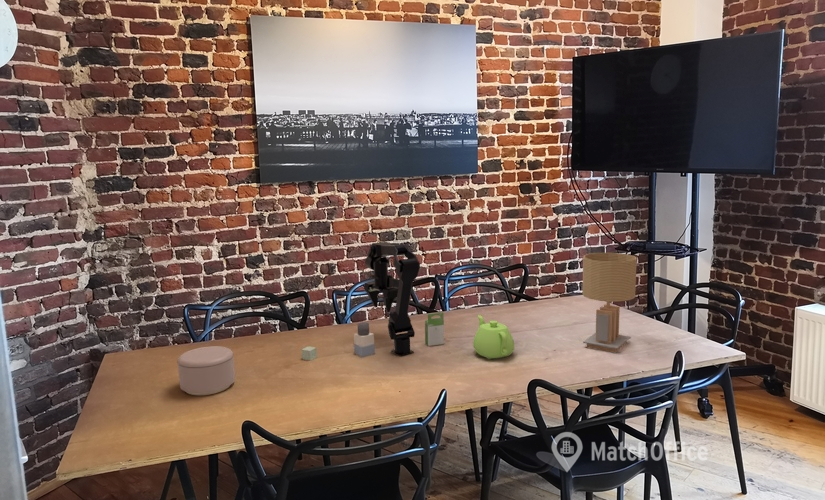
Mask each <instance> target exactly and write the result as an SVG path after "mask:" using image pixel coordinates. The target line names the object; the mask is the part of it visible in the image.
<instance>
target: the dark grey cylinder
mask: <svg viewBox="0 0 825 500" xmlns="http://www.w3.org/2000/svg"><path fill="white" fill-rule="evenodd" d="M369 332H370V323H369V322H359V323H357V333H358V335H359V336H366V335H369Z"/></svg>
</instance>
